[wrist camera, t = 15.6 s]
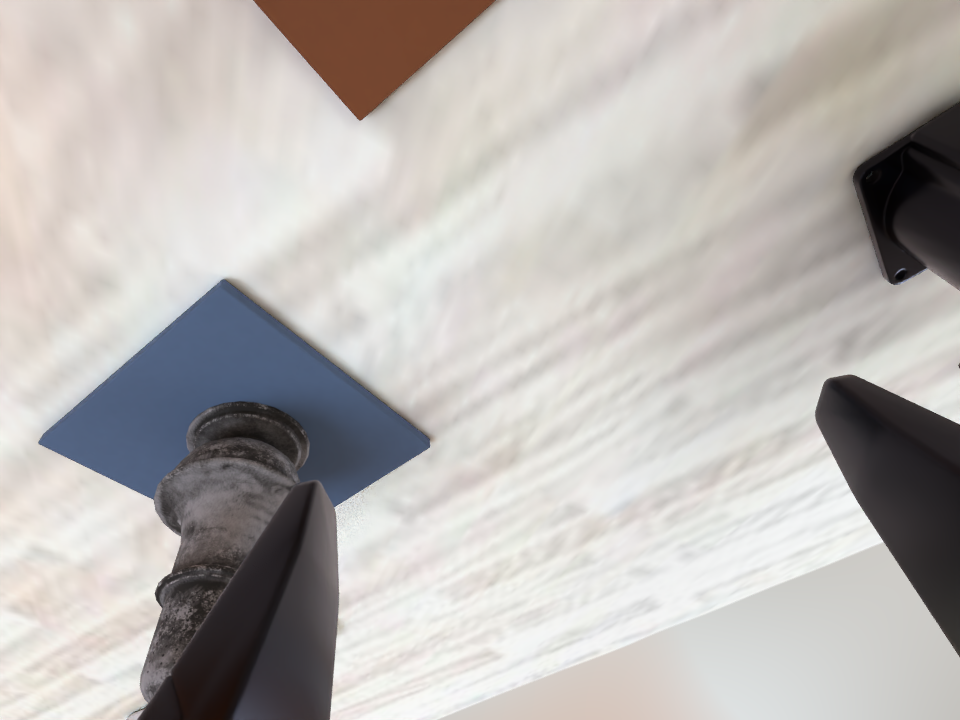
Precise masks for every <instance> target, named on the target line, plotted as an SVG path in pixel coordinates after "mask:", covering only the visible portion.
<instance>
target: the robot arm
mask: <svg viewBox="0 0 960 720" xmlns="http://www.w3.org/2000/svg"><path fill="white" fill-rule="evenodd" d="M871 172H873V173H872V175H871V176H870V177H869V178H868V179H866V178H867V176H868V175H869V174H870V173H871ZM853 182H854V186H855V189H856V192H857V195H858V198H859V202H860V205H861V208H862V211H863V214H864V217H865V221H866V224H867V227H868V230H869V233H870V236H871V240H872V243H873V246H874V249H875V252H876V255H877V259H878V262H879V265H880V268H881V271H882V275H883V277H884V278H885V280H887V281H888V282H889V283H891V284H893V285H898V284H901V283H903V282H905V281H907V280H909V279H911V278H912V277H914V276H916V275H918V274H920V273H921V272H923V271H925V270H927V269H930V270H931V271H932V272H934V273H935V274H937V275H938V276H940V277H941V278H942V279H944V280H945V281H947V282H948V283H950V284H951V285H952V286H954V287H955V288H957V289H958V290H960V102H959V103H958V104H956V105H955V106H953V107H951V108H950V109H948V110H947V111H945V112H944V113H942V114H940V115H939V116H937V117H936V118H934V119H932V120H931V121H929V122H928V123H926V124H925V125H923V126H921V127H920V128H918V129H917V130H915V131H914V132H912V133H910V134H909V135H907V136H906V137H904V138H902V139H901V140H899V141H898V142H896V143H895V144H893V145H891V146H890V147H888V148H887V149H885V150H883V151H882V152H880V153H879V154H877V155H876V156H874V157H872V158H871V159H869V160H868V161H866V162H864V163H863V164H862V165H861V166H859V167H858V169H857V170H856V171H855V173H854V176H853ZM958 366H959V368H960V364H959V365H958ZM815 417H816V421H817V424H818V427H819V428H820V430H821V432H822V434H823V436H824V438H825V440H826V442H827V444H828V446H829V448H830V450H831V452H832V454H833V456H834V458H835V460H836V462H837V464H838V466H839V468H840V470H841V472H842V473H843V475H844V477H845V479H846V481H847V483H848V485H849V487H850V489H851V491H852V493H853V494H854V496H855V498H856V500H857V501H858V503H859V505H860V506H861V508H862V509H863V511H864V512H865V514H866V516H867V517H868V519H869V520H870V522H871V523H872V525H873V526H874V528H875V529H876V531H877V532H878V534H879V535H880V537H881V538H882V540H883V541H884V543H885V544H886V546H887V547H888V549H889V550H890V552H891V553H892V555H893V556H894V558H895V559H896V561H897V562H898V564H899V566H900V567H901V569H902V570H903V572H904V573H905V575H906V576H907V578H908V579H909V581H910V582H911V584H912V585H913V587H914V588H915V590H916V591H917V593H918V594H919V596H920V597H921V599H922V600H923V602H924V604H925V605H926V607H927V608H928V610H929V611H930V613H931V614H932V616H933V617H934V618H935V620H936V622H937V623H938V624H939V626H940V628H941V629H942V631H943V632H944V634H945V635H946V637H947V638H948V640H949V641H950V643H951V644H952V646H953V648H954V649H955V651H956V652H957V654H958V655H959V657H960V425H959V424H957V423H955V422H953V421H951V420H949V419H947V418H945V417H942V416H940V415H938V414H936V413H934V412H932V411H930V410H928V409H925V408H923V407H921V406H919V405H917V404H915V403H913V402H911V401H908V400H906V399H904V398H902V397H900V396H898V395H896V394H893V393H891V392H889V391H887V390H885V389H883V388H881V387H879V386H876V385H874V384H872V383H870V382H868V381H866V380H864V379H862V378H859V377H857V376H855V375H843V376H838V377H833V378H829V379H827V380H826V381H825V382H824V384H823V388H822V391H821V394H820V397H819V401H818V404H817V407H816V411H815ZM338 608H339V580H338V552H337V524H336V513H335V509H334V506H333V504H332V502H331V501H330V499H329V497H328V495H327V493H326V491H325V489H324V487H323V486H322V484H321V482H320V481H318V480H310V481H305V482H300V483H297V484H295V485H294V486H293V487H292V488H291V490H290V491H289V493H288V494H287V496H286V497H285V499H284V500H283V502H282V503H281V505H280V506H279V508H278V509H277V511H276V512H275V514H274V515H273V517H272V518H271V520H270V521H269V523H268V524H267V526H266V527H265V529H264V530H263V532H262V533H261V535H260V536H259V538H258V539H257V541H256V542H255V544H254V545H253V547H252V548H251V550H250V551H249V553H248V554H247V556H246V558H245V559H244V561H243V562H242V564H241V565H240V567H239V568H238V570H237V571H236V573H235V574H234V576H233V577H232V579H231V580H230V582H229V583H228V585H227V586H226V588H225V589H224V591H223V592H222V594H221V595H220V597H219V598H218V600H217V601H216V603H215V604H214V606H213V607H212V609H211V610H210V612H209V613H208V615H207V616H206V618H205V619H204V621H203V622H202V624H201V625H200V627H199V628H198V630H197V631H196V633H195V634H194V636H193V637H192V639H191V640H190V642H189V643H188V645H187V646H186V648H185V649H184V651H183V652H182V654H181V655H180V657H179V658H178V660H177V661H176V663H175V664H174V666H173V667H172V669H171V671H170V674H171V675H168V676H166V678H165V679H164V681H163V682H162V684H161V685H160V687H159V688H158V690H157V691H156V693H155V694H154V696H153V697H152V699H151V700H150V702H149V703H148V704H147V706H146V707H145V709H144V710H143V712H142V713H141V714H140V716H139V717H138V719H137V720H330V710H331V698H332V685H333V673H334V660H335V648H336V635H337V623H338Z"/></svg>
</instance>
